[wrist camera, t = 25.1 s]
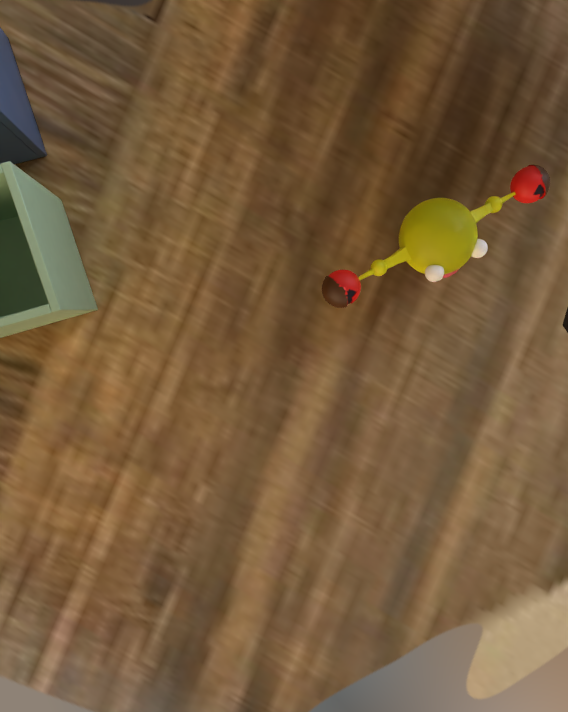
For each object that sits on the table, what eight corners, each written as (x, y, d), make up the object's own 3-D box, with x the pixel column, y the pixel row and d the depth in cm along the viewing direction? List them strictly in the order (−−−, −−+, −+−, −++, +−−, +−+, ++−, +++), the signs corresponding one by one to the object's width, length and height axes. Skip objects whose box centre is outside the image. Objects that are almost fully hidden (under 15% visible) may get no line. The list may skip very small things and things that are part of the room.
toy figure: (330, 333, 41) (354, 338, 35) (296, 269, 40) (314, 261, 34) (528, 223, 43) (587, 208, 36) (499, 159, 42) (554, 130, 35)
